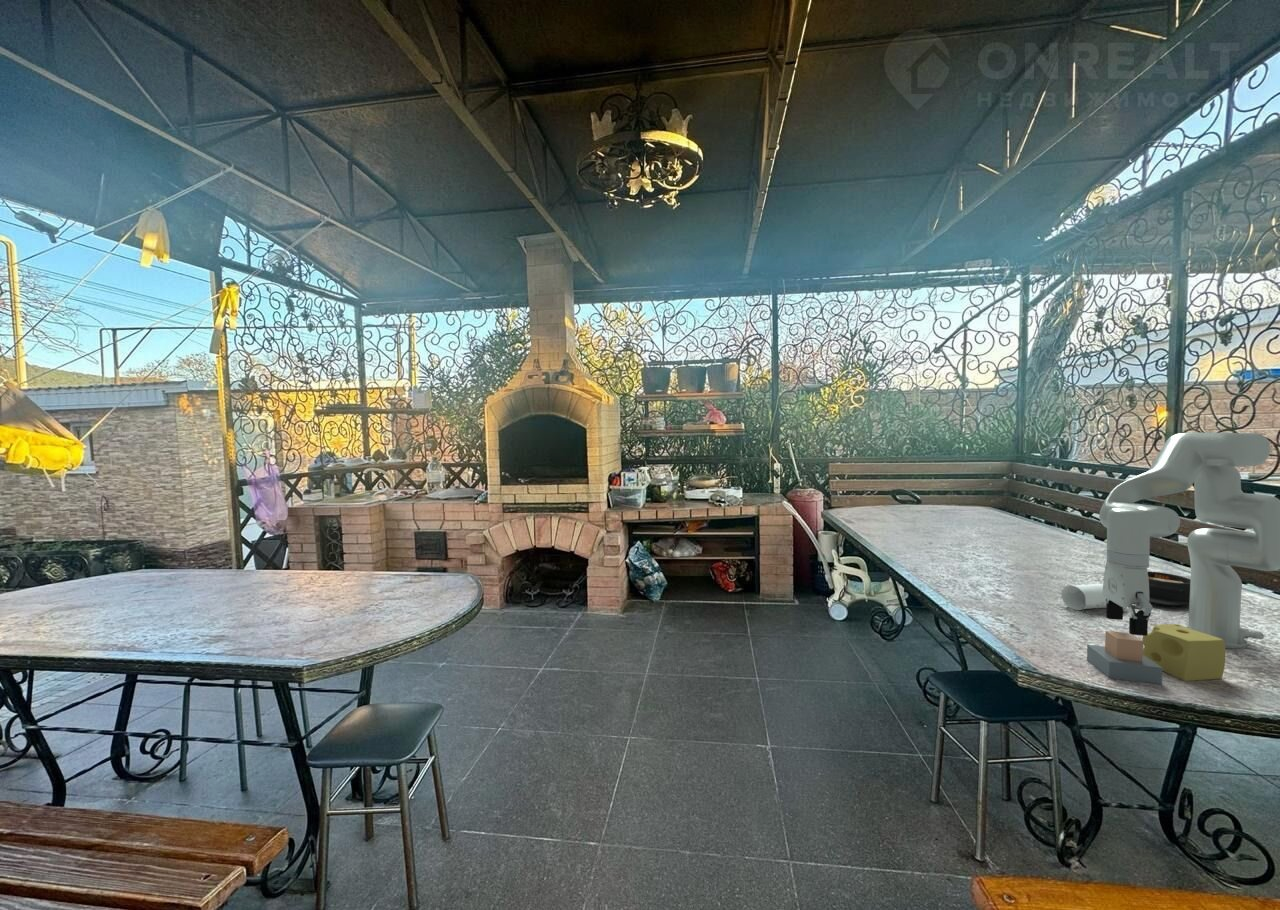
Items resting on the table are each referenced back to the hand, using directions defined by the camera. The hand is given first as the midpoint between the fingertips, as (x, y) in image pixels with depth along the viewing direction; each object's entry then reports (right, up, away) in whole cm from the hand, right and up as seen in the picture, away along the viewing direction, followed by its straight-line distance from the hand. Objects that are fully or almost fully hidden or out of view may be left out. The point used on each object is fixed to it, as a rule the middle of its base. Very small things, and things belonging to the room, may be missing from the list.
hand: (1125, 626), depth 123 cm
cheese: (+14, -11, 0) cm, 18 cm away
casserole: (+62, -9, +51) cm, 81 cm away
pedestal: (-1, -11, 0) cm, 11 cm away
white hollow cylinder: (+32, -9, +45) cm, 56 cm away
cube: (-1, -7, 0) cm, 7 cm away
